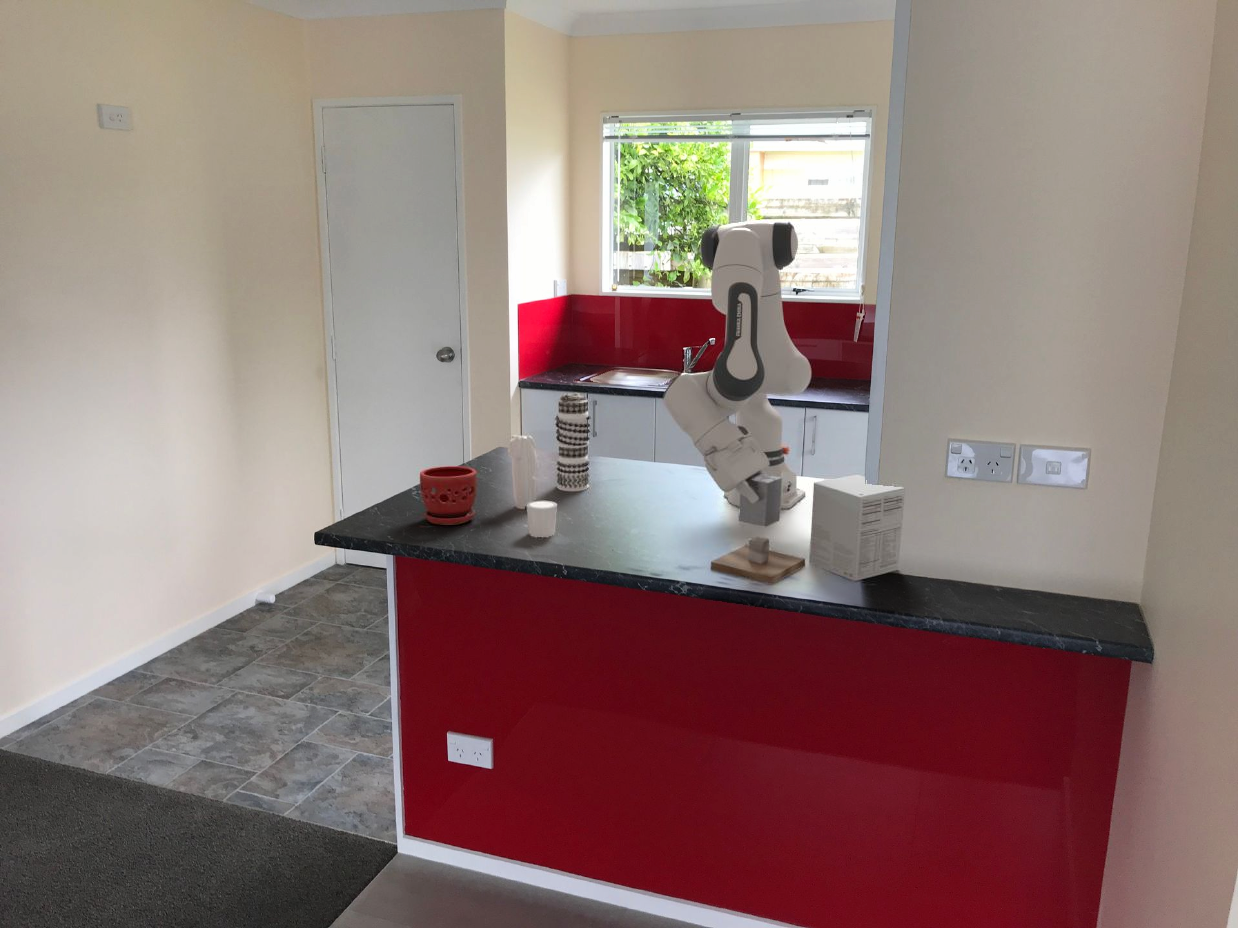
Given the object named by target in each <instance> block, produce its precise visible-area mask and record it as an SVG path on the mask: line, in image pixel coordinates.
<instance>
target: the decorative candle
mask: <svg viewBox="0 0 1238 928" xmlns="http://www.w3.org/2000/svg"><path fill="white" fill-rule="evenodd" d="M557 401H558V411H557V415H556V416H555V418H554V420H555V421H556V423H555V427H556V428H557V429H556V432H555V433H556V437H555V438H556V441H557V442H556V445H557V446H558V455H557V462H556V464H557V466H558V467H557V468H556V470H557V474H556V477H557V479H556V483H557V489H558V490H560V491H565V492H582V491H585V489H586V490H588V489H589V488H588V487H590V485H589V483H590V480H589V478H590V474H589V472H588V471H589V470H590V468H589V465H590V462H589V457H588V456H589V455H588V447H589V444H590V442H589V440H590V436H588V434H589V433H590V432H591V431H590V429H589V427H591V424H590V423H588V421H589V420H590V419H591V418H592V417H591V416H590V415H589V411H588V402H589V399H588V398H587V397H586V396H585V394H583V393H580V392H579V393H577V392H567V393H564V394H562V395H561V397H560V398H558V399H557ZM587 488H588V489H587Z"/></svg>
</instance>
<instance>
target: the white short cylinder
mask: <svg viewBox="0 0 1238 928" xmlns="http://www.w3.org/2000/svg"><path fill="white" fill-rule="evenodd" d="M526 511H527V512H526V513H527V521H528V531H529V536H531V537H533V536H534V537H533V538H537V537H542V538H543V537H546V538H550V537H549V536H551V537H553V536H555V534H554V533H555V532H556V521H557V513H558V512H557V511H558V504H557V502H554V501H551V500H535V501H533V502H530V503H528V504H527V507H526ZM552 535H553V536H552ZM542 538H541V539H542Z"/></svg>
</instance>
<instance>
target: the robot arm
mask: <svg viewBox="0 0 1238 928" xmlns="http://www.w3.org/2000/svg"><path fill="white" fill-rule="evenodd" d="M798 247H799V240H798V235H797V232H796V230H795V227H794V225H793V224H792V223H791V222H790V221H787V220H780V219H775V220H747V221H742V222H732V223H729V224H728V223H727V224H723V225H722V224H715V225H713V226H710V227H707V228H706V229H705V231H703V233H702V234H701V240H700V244H699V252H700V253H699V254H700V257H701V260H702V264H703V265H704V267H705V268H707V269H708V270H709V271H711V281H710V283H711V285H710V290H711V291H710V292H711V301H712V302H711V303H712V305H713V306H714V308H715V309H716V310H717V311H718V312H720V313H721V314H723V315H725V338H724V345H723V346H724V347H723V349H722V351H721V352H720V353H719V355H718V357H717V358H716V361H715V363H714V366H713V369H712V370H709V371H706V372H700V373H699V372H697V373H687V372H682V373H680V374H678V375H677V376H676V377H675V378H674V379H673V380H672V381H671V382H670V384H669V385H668V386H667V387H666V389H665V390H664V392H663V396H662V403H663V406H664V407H665V410H666V411H667V412H668V413H669V416H671V418H672V420H673V421H674V422H675V423H676V425H677V426H678V427H679V429H681V431H683V432H684V433H686V435H688V437H689V439H691V443H692V444H693V446H694V447H695V448H696V449H697V451H698V452H699V453H700V455H701V456H702V457H703V461H704V462H705V468H706V470H707V472H708V474H709V475H710V477H711V478H712V479H713V481H714V482H715V483H716V485H717V486H718V488H719V489H720V490H721V491H722V492H724V493H723V496H724V497H725V498H726V499H727V502H729V503H730V504H731V505H734V506H738V507H740V494H742V495H743V496H745V497H747V498H748V500H749V501H750V502H751V503H755V502H756V501H758V500H759V499H760V495H759V494H758V493H757V492H756V491H753V490H752V489H751V488H750V487H749V486H748V483H747V482H746V481H745V480H746V479H747V478H749V477H751V476H752V475H754V474H756V473H759V474H765V475H770V476H776V477H781V478H782V487H781V503H780V509H790V508H792V507H793V506H795V504H797V503H798V502H799V501H800V500H802V499H803V498H804V497H805V496H806V491H805V490H802V489H801V488H797V474H796V472H795V471H794V470H793V469H792V468H791V467H790V465H789V466H788V464H787V463H786V462H785V455H786V456H787V455H789V453H790V447H789V446H783V445H782V442H783V441H782V440H783V439H782V436H783V418H782V415H781V414H780V413H779V411H778V410H777V409H775V408H774V407H773V406H772V405H771V403H770V401H769V398H768V395H773V396H779V397H780V396H781V397H785V396H795V395H796V396H797V395H800V394H802V393H803V392H804V391H805V390H806V389H807V387H808V386H809V384H810V383H811V380H812V367H811V364H810V362H809V360H808V358H807V357H806V356H805V355H803V354H802V353H801V352H800V351H799V350H798V348H797V347H796V345H794V343H793V342H792V340H791V338H790V335H789V333H788V331H787V327H786V325H785V321H784V312H783V311H784V310H783V299H782V283H781V275H780V271H781V270H783V269H784V268H786V267H788V266H790V265H791V264H792V262H793V261H794V260H795V258H796V254H797V252H798V249H799V248H798ZM767 394H768V395H767ZM734 414H735V415H736V423H733V422H732V421H731V420H730V419H729V418H728V417H730V416H732V415H734Z"/></svg>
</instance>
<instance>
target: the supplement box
mask: <svg viewBox="0 0 1238 928" xmlns="http://www.w3.org/2000/svg"><path fill="white" fill-rule="evenodd" d="M865 477H866V476H864V475H860V474H853V475H848V476H847V475H846V476H842V477H837V478H829V479H830V480H825V481H823V480H820V481H816V482H813V491H812V492H813V494H812V496H813V497H812V510H811V511H812V513H811V525H810V526H811V527H810V528H811V529H810V542H809V543H810V545H809V546H810V547H809V561H808V563H810V564H812V565H814V566H816V567H818V568H821V569H824V570H826V571H829V572H831V573H833V574H836V575H839V576H840V577H844V578H846V579H847V580H850V581H853V582H856V581H860V580H863V579H868V578H872V577H877V576H880V575H884V574H887V573H891V572H895V571H899V566H900V554H901V553H900V551H901V543H902V529H903V517H904V506H905V493H906V487H902V486H899V487H894V486H883V485H872V484H867V480H866V484H865Z"/></svg>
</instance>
